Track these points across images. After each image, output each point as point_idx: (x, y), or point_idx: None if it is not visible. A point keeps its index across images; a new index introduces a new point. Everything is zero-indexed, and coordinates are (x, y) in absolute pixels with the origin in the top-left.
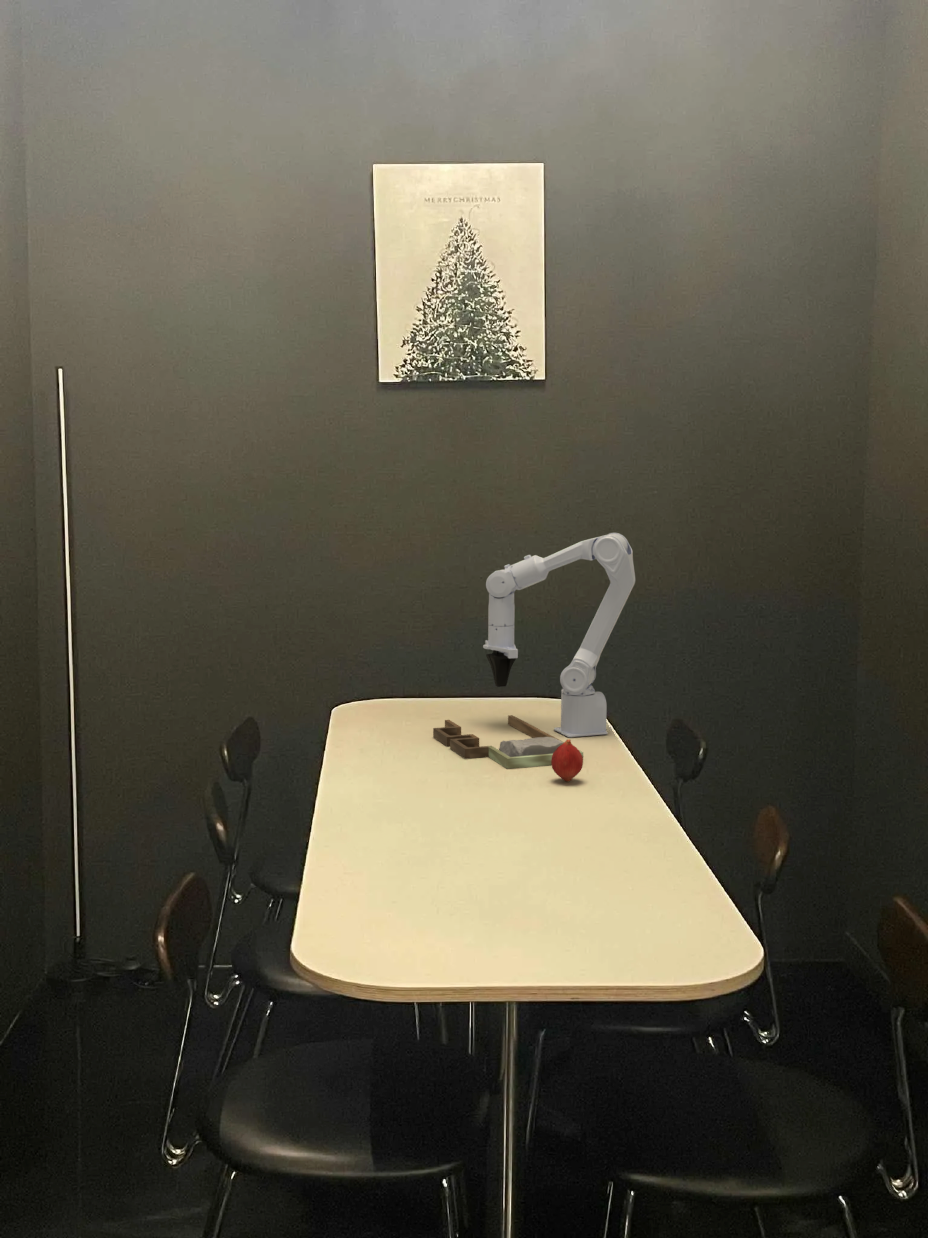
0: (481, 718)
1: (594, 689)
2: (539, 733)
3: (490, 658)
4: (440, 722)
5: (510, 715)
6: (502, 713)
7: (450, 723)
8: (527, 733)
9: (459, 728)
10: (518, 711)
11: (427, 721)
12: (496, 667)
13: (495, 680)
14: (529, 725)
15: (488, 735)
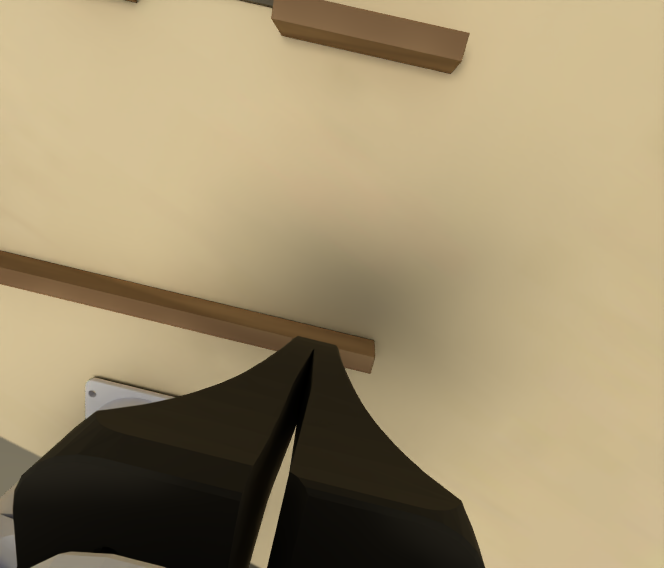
0: (530, 319)
1: None
2: (57, 278)
3: (261, 454)
4: (593, 114)
5: (369, 365)
6: (547, 432)
7: (376, 12)
8: (184, 297)
9: (273, 8)
10: (534, 491)
11: (661, 63)
12: (199, 394)
13: (308, 350)
14: (171, 317)
15: (245, 162)
